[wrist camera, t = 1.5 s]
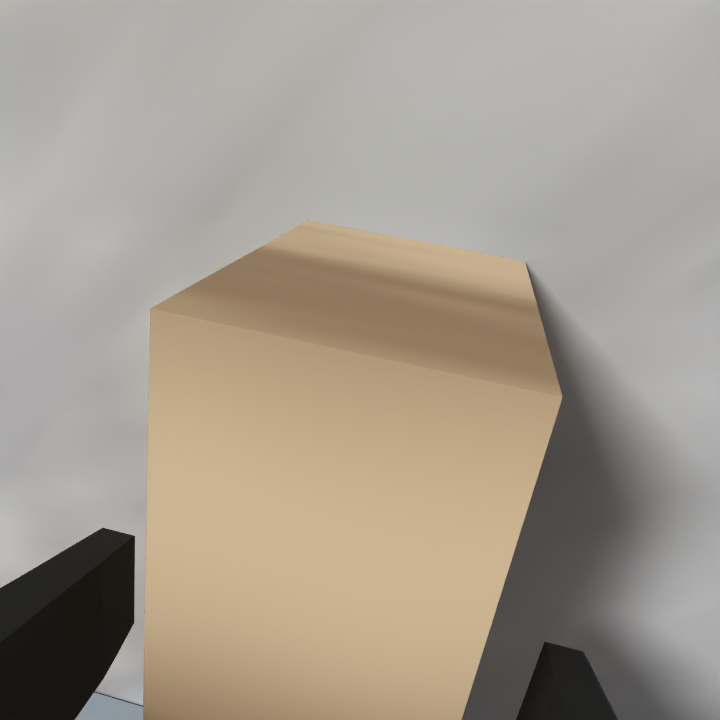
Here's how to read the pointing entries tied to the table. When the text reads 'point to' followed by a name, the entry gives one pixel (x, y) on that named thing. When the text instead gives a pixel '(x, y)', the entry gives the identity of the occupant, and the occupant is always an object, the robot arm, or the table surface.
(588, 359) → the table surface
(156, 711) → the oak plank
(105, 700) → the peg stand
